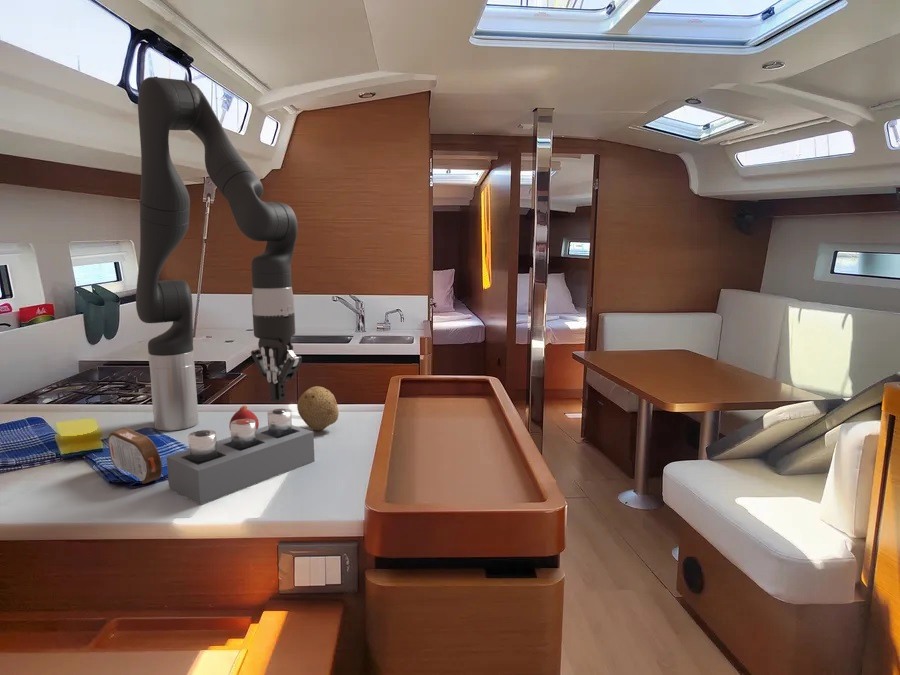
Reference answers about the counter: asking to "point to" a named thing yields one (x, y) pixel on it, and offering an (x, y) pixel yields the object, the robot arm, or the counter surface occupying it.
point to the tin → (135, 454)
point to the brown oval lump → (318, 408)
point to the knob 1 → (202, 445)
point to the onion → (244, 415)
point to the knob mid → (243, 433)
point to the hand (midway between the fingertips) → (278, 401)
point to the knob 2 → (279, 422)
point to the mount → (239, 464)
